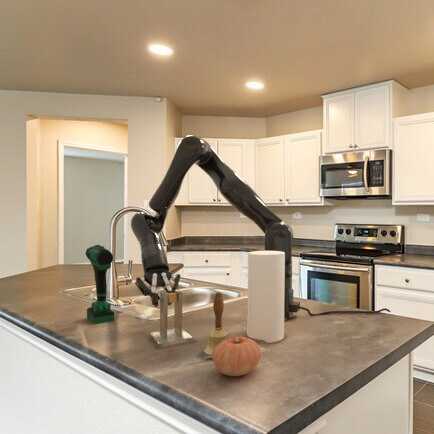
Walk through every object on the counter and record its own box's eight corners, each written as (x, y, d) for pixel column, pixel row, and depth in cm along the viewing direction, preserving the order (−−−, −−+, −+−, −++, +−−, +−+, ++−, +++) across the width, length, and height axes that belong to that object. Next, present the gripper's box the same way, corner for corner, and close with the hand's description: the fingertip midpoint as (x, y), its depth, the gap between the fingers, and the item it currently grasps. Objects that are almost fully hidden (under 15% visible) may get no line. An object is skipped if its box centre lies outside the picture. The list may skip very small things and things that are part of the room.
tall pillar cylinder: (282, 330, 118) (283, 250, 118) (285, 342, 108) (286, 254, 108) (247, 332, 117) (248, 250, 116) (246, 344, 106) (247, 254, 106)
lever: (155, 301, 118) (154, 290, 118) (166, 299, 120) (165, 289, 120) (166, 304, 107) (166, 293, 107) (178, 303, 109) (178, 291, 109)
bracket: (149, 337, 111) (150, 289, 111) (181, 331, 116) (181, 286, 116) (158, 348, 102) (159, 297, 102) (192, 341, 108) (193, 293, 107)
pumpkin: (213, 365, 91) (214, 332, 91) (259, 361, 94) (259, 329, 94) (210, 385, 81) (211, 347, 81) (262, 380, 83) (262, 344, 83)
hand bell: (235, 358, 96) (236, 295, 96) (201, 361, 94) (201, 296, 93) (233, 347, 104) (234, 288, 104) (201, 349, 101) (202, 290, 101)
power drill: (94, 327, 119) (94, 247, 119) (78, 309, 141) (78, 241, 140) (114, 324, 123) (115, 247, 122) (96, 307, 144) (96, 241, 144)
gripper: (132, 254, 120) (140, 300, 110) (179, 252, 128) (189, 294, 118) (129, 269, 124) (136, 314, 114) (174, 265, 132) (184, 308, 123)
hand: (163, 304), depth 116 cm, fingers closed on lever, 3 cm apart
